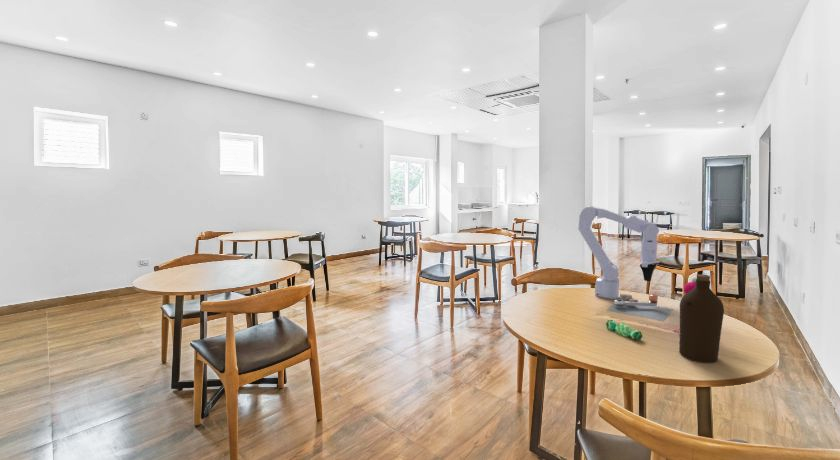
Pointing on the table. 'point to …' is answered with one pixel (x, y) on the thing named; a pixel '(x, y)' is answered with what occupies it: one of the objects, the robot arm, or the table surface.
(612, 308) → the nutcracker base
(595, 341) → the table surface
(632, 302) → the lever
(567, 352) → the table surface
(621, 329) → the candy
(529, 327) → the table surface
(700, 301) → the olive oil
